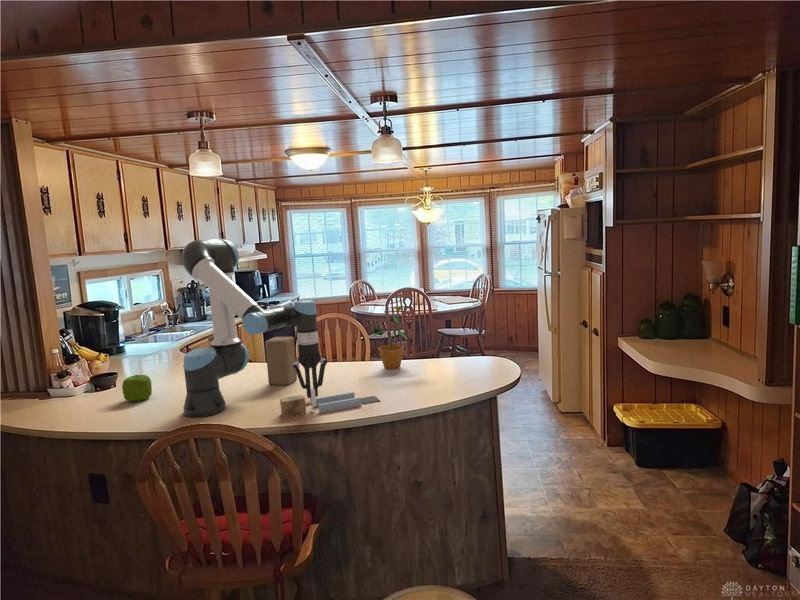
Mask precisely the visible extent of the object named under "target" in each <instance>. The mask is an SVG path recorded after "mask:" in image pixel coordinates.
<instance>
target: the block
mask: <svg viewBox="0 0 800 600" xmlns="http://www.w3.org/2000/svg"><path fill="white" fill-rule="evenodd" d="M279 399H280V413H281V415H282V417H283V419H286V418H285V417H287V418H292V417H291V416H293V417H297V416H296V415H299V416H303V415H302V414H304V415H307V407H306V406H307V405H305V398H304V397H303V395H302V394H300V395H299V394H298V395H292V396H286V397H281V398H279Z"/></svg>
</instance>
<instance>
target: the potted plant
mask: <svg viewBox="0 0 800 600" xmlns="http://www.w3.org/2000/svg"><path fill="white" fill-rule="evenodd" d="M405 308H408V306H402V305H401V306H399V305H398V306H391V307H390V309H395V310H397V311H398V314H397V317H396V316H395V315H393V316H392V317H391V319H390V320H389V321H390V322H392V323H395V325H394V328H393V330H392V333H391V335H390V334H389V333H387V331H386V330H385V326H373V329H374V330H373V331H372V332H371V335H377V336H381V337H382V336H383V335H384V334H386V335H388V337H389V338H390V343H389V344H385V345H380V346H379V347H378V348H377V350H378V352H379V355H380V359H381V362H382V364H383V368H384V369H385V370H387V369H394V370H397V369H396V368H398V369H400V368H401V364H402V360H403V355H404V350H405V346H404V345H403V344H395V343H393V337H394V333H395V332H397V335H398V336H400V337H402V338H403V339H406V340H408V334H407V333H405V332H403V331H401V330H399V328H397V327H399V326H400V323H401V321H400V320H399V316H400V311H401V310H402V309H405ZM382 328H383V330H381V329H382ZM396 328H397V329H396ZM399 367H400V368H399Z"/></svg>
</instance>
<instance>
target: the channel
mask: <svg viewBox="0 0 800 600" xmlns="http://www.w3.org/2000/svg"><path fill="white" fill-rule="evenodd" d="M355 396H356V395H355V392H354V391H351V392H345V393H340V394H339V393H338V394H333V395H326V396H321V397H315V398H316V406H315V407H314V408H316V407H317V408H318V414H322V413H328V412H334V411H339V410H345V409H350V408H355V407H361V406H362V403H361V398H362V397H361V396H359V397H355Z"/></svg>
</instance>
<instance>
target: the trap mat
mask: <svg viewBox="0 0 800 600" xmlns="http://www.w3.org/2000/svg"><path fill="white" fill-rule="evenodd" d="M377 402H379V403H380V402H381V400H380V399H379V398H378V397H377V396H375V395H371V396H364V397H361V405H367V404H372V403H377Z"/></svg>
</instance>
